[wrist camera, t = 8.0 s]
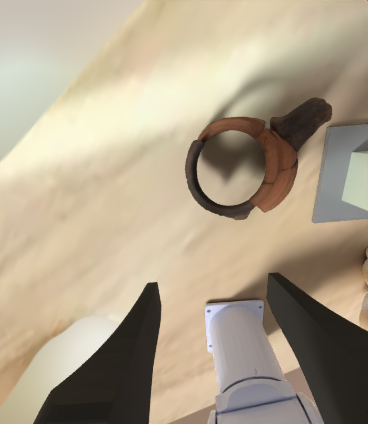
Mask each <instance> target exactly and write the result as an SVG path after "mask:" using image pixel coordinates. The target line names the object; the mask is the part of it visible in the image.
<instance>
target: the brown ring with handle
mask: <svg viewBox="0 0 368 424" xmlns="http://www.w3.org/2000/svg"><path fill="white" fill-rule="evenodd" d="M331 116H332V107H331V105H329V104H328V103H326V101H325V100H324V99H319V98H312V99H309V100H308V101H306V102H305V103H303V104H302V105H300V106H299V107H297V108H296V109H294V110H293V111H292V112H290V113H289V114H287V115H286V116H283V117H272V118H271V120H270V127H271V128H270V130H268V129H265V128H264V126H265V121H264V120H261V119H257V118H249V117H231V118H223V119H221V120H219V121H216V122H213V123H211V124H209V125H208V126H207V127H206V128H205V129H204V130H203V131H202V133H201V134H200V135H199V137H198V139H197V140H195V141H193V142H192V144H191V146H190V148H189V151H188V155H187V159H186V165H185V173H186V178H187V184H188V187H189V190H190V191H191V194H192V195H193V197H194V199H195V200H196V201H197V202H198V204H200V205H201V206H202V207H203V208H204V209H206V210H208V211H210V212H212V213H215V214H218V215H220V216H226V217H228V218H233V219H235V220H244V219H246V218H247V217H248V215H249V214H250V211H251V210H252V209H253V208H254V207H256V206H258V208H260V209H261V210H262V211H263V212H267V211H269V210H272V209H273V208H275V207H276V206H277V205H279V204H280V203H281V202H282V201H283V200H284V198H285V197H286V196H287V195H288V193H289V192H290V190H291V188H292V186H293V184H294V183H293V182H294V180H295V177H296V174H297V169H298V159H297V152H298V151H299V149H300V148H301V146H302V145H303V144H304V143H305V142H306V141H307V140H308V139H309V138H310V137H311V136H312V135H313V134H314V133H315V132H316V131H317V129H318V128H319V127H320V126H321V125H323V124H324V123H325V122H328V121H329V120H330V119H331ZM229 130H237V131H242V132H245V133H247V134H249V135H250V136H251V137H253V138H254V139H256V140H257V142H258V143H259V144H260V146H261V148H262V150H263V152H264V155H265V160H266V171H265V176H264V180H263V182H262V184H261V186H260V188H259V189H258V191H257V192H256V193H255V194H254V195H253V196H252V197H251V198H250V199H249V200H247V201H246V202H244V203H242V204H239V205H234V206H225V205H220V204H217V203H215V202H213V201H212V200H211V199H209V198H208V197H207V196H206V195H205V194H204V192H203V191H202V189H201V187H200V185H199V182H198V178H197V161H198V158H199V155H200V152H201V150H202V148H203V147H204V143H205V142H206V141H207V140H208V139H209V138H210V137H211V136H213V135H214V134H219V133H221V132H224V131H229Z"/></svg>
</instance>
